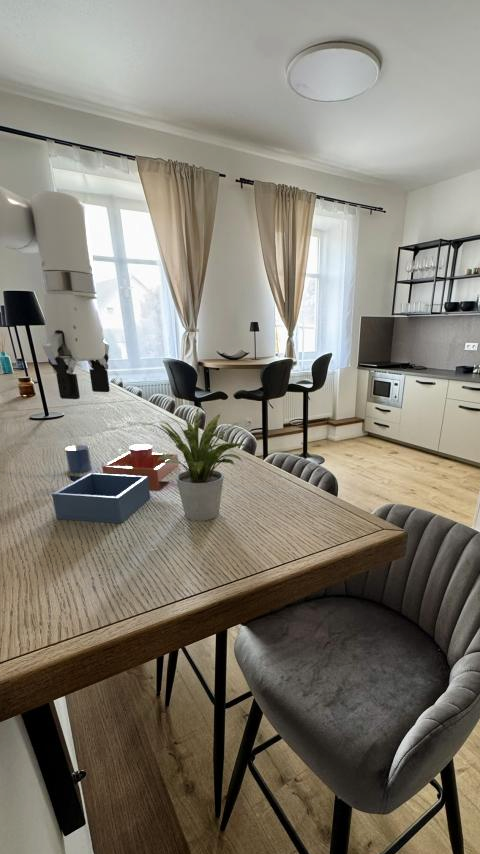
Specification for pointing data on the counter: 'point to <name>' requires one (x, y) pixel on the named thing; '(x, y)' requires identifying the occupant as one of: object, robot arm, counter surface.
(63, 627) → the counter surface
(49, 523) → the counter surface
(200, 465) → the house plant
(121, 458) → the terracotta bin
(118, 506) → the blue bin
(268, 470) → the counter surface
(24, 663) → the counter surface
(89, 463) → the tall blue post
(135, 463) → the red cylinder
